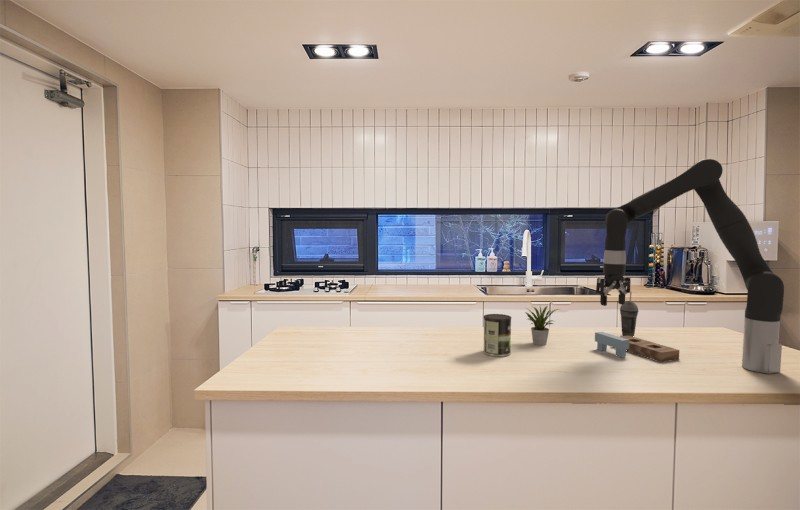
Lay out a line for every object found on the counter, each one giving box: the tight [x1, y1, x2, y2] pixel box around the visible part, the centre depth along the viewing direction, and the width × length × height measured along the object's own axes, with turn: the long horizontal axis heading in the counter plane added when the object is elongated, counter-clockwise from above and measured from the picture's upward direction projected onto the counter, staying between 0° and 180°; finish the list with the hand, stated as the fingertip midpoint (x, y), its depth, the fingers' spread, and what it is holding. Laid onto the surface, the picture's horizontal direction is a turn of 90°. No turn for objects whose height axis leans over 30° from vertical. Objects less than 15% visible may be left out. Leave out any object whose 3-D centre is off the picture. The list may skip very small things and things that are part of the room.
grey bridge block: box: [594, 331, 629, 358], centre depth 168 cm, size 13×4×6 cm, turn 20°
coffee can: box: [482, 313, 512, 358], centre depth 167 cm, size 10×10×14 cm
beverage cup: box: [619, 291, 639, 337], centre depth 191 cm, size 7×7×20 cm
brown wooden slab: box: [620, 335, 680, 363], centre depth 168 cm, size 22×9×4 cm, turn 20°
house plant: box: [525, 304, 560, 346], centre depth 181 cm, size 14×14×16 cm
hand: (612, 304), depth 167 cm, fingers open, 8 cm apart
